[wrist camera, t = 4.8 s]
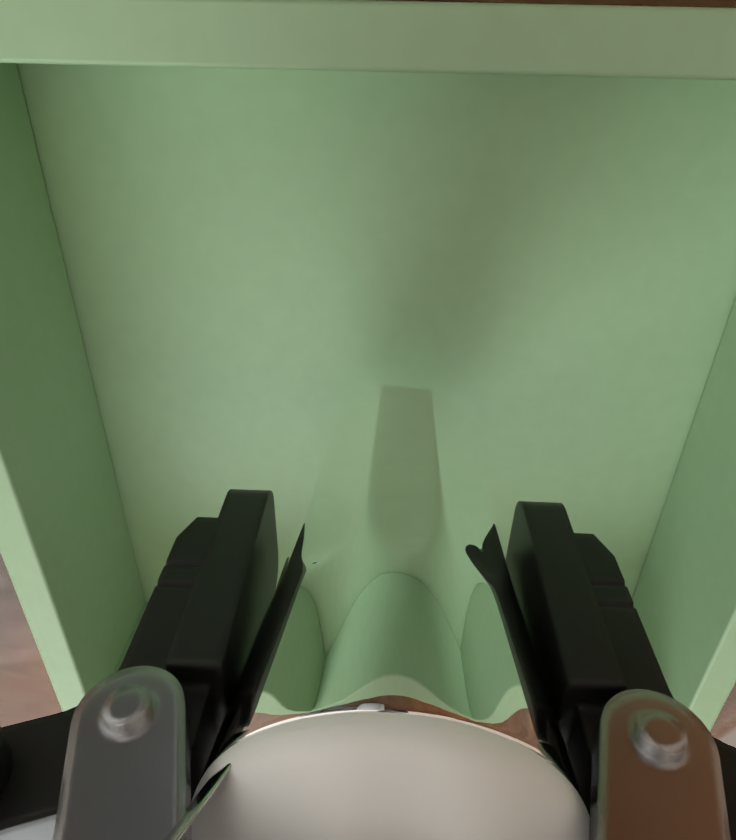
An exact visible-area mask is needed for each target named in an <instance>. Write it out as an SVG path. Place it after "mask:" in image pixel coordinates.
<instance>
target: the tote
mask: <svg viewBox="0 0 736 840" xmlns="http://www.w3.org/2000/svg"><path fill="white" fill-rule="evenodd" d="M381 385H389V386H401V387H414V388H429V389H431V390H432V391H433V392H435V393H436V394H437V395H439V396H440V397H441V398H442V399H444V400H445V401H446V402H448V403H449V404H450V405H452V406H453V407H454V408H455V409H457V410H458V411H459V412H461V413H462V414H463V415H465V417H466V419H467V422H468V426H469V429H470V433H471V437H472V440H473V444H474V448H475V451H476V455H477V459H478V462H479V466H480V470H481V473H482V477H483V481H484V484H485V488H486V492H487V495H488V499H489V503H490V506H491V510H492V514H493V517H494V521H495V525H496V528H497V532H498V535H499V539H500V543H501V546H502V550H503V553H504V557H505V559H506V554H507V549H508V543H509V538H510V533H511V527H512V522H513V517H514V511H515V507H516V504H517V503H518V501H531V502H556V503H562V504H563V505H564V507H565V509H566V512H567V515H568V517H569V520H570V523H571V526H572V529H573V532H574V533H586V534H594V535H595V536H596V537H597V538H598V539H599V540H600V541H601V542H602V543H603V545H604V546H605V547H606V548H607V549H608V550H609V551H610V552H611V553H612V554H613V555H614V556H615V558H616V561H617V563H618V566H619V568H620V571H621V573H622V576H623V578H624V580H625V587H627V588H628V590H629V593H630V595H631V597H632V600H633V602H634V604H633V606H634V608H636V610H637V612H638V615H639V617H640V619H641V622H642V624H643V627H644V629H645V632H646V634H647V636H648V639H649V641H650V644H651V646H652V649H653V651H654V654H655V656H656V658H657V661H658V663H659V666H660V668H661V671H662V673H663V675H664V678H665V680H666V683H667V685H668V688H669V690H670V692H671V694H672V696H673V698H674V699H675V700H677V701H678V702H680V703H681V704H683V705H685V706H686V707H687V708H688V709H690V710H691V711H692V712H693V713H694V714H695V715H696V716H697V717H698V718H699V719H700V720H701V721H702V722H703V723H704V725H705V726H706V727H707V728H708V730H709V732H710V731H711V729H712V727H713V725H714V723H715V721H716V719H717V717H718V715H719V713H720V711H721V709H722V707H723V705H724V704H725V702H726V700H727V698H728V696H729V694H730V692H731V690H732V688H733V686H734V684H735V682H736V8H718V7H670V6H622V5H574V4H526V3H478V2H430V1H382V0H0V552H1V555H2V557H3V560H4V562H5V565H6V568H7V570H8V573H9V575H10V578H11V580H12V583H13V586H14V588H15V591H16V593H17V596H18V598H19V601H20V603H21V606H22V609H23V611H24V614H25V616H26V619H27V621H28V624H29V627H30V629H31V632H32V634H33V637H34V639H35V642H36V644H37V647H38V650H39V652H40V655H41V657H42V660H43V662H44V665H45V668H46V670H47V673H48V675H49V678H50V680H51V683H52V686H53V688H54V691H55V693H56V696H57V698H58V701H59V703H60V706H61V709H62V711H63V712H64V711H67V710H69V709H71V708H73V707H76V706H78V704H79V703H80V701H81V699H82V698H83V697H84V696H85V695H86V693H87V692H88V691H89V690H90V689H91V688H92V687H93V686H94V685H96V684H97V683H98V682H100V681H101V680H102V679H104V678H105V677H107V676H109V675H111V674H113V673H115V672H117V671H118V669H119V667H120V666H121V664H122V662H123V659H124V657H125V655H126V653H127V650H128V648H129V646H130V643H131V641H132V639H133V636H134V634H135V632H136V630H137V627H138V625H139V623H140V620H141V618H142V616H143V613H144V611H145V609H146V606H147V604H148V602H149V600H150V597H151V595H152V593H153V590H154V588H155V586H157V584H158V579H159V577H160V574H161V572H162V570H163V567H164V566H166V560H167V558H168V556H169V553H170V551H171V549H172V547H173V544H174V542H175V540H176V537H177V536H178V535H179V534H180V533H181V532H182V531H183V530H184V529H185V528H186V527H188V526H189V525H190V524H191V523H192V522H193V521H194V520H195V519H196V518H197V517H213V518H218V516H219V514H220V511H221V508H222V505H223V503H224V500H225V497H226V495H227V492H228V491H229V490H230V489H246V490H271V491H272V492H273V496H274V505H275V518H276V530H277V543H278V577H277V584H278V581H279V579H280V576H281V573H282V570H283V567H284V564H285V561H286V558H287V555H288V552H289V549H290V546H291V543H292V541H293V538H294V535H295V532H296V529H297V526H298V523H299V520H300V517H301V514H302V511H303V508H304V505H305V502H306V499H307V496H308V493H309V490H310V487H311V484H312V481H313V479H314V476H315V473H316V470H317V467H318V464H319V461H320V458H321V455H322V452H323V449H324V446H325V444H326V442H327V439H328V437H329V435H330V432H331V430H332V428H333V425H334V423H335V421H336V418H337V416H338V413H339V411H340V409H341V407H342V406H343V405H345V404H347V403H349V402H351V401H353V400H355V399H356V398H358V397H360V396H362V395H364V394H366V393H368V392H370V391H371V390H373V389H375V388H377V387H379V386H381ZM276 587H277V585H276Z"/></svg>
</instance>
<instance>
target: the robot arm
mask: <svg viewBox="0 0 736 840" xmlns="http://www.w3.org/2000/svg"><path fill="white" fill-rule="evenodd" d="M505 560H506V564H507V567H508V571H509V574H510V577H511V581H512V584H513V587H514V590H515V593H516V596H517V599H518V602H519V605H520V608H521V611H522V613H523V616H524V619H525V622H526V625H527V628H528V631H529V634H530V637H531V640H532V643H533V646H534V649H535V652H536V655H537V658H538V661H539V664H540V667H541V670H542V673H543V676H544V680H545V683H546V686H547V689H548V692H549V695H550V698H551V701H552V705H553V708H554V711H555V714H556V717H557V720H558V723H559V726H560V729H561V733H562V736H563V739H564V742H565V745H566V748H567V751H568V755H569V758H570V761H571V764H572V767H573V770H574V773H575V776H576V780H577V783H578V786H579V789H580V792H581V796H582V799H583V802H584V804H585V806H586V808H587V811H588V813H589V816H590V825H589V840H736V748H735V747H732V746H730V745H727V744H725V743H723V742H721V741H720V740H718V739H716V738H714V737H713V736H712V735H711V733H710V732H709V730H708V728H707V727H706V726H705V725H704V723H703V722H702V721H701V720H700V719H699V718H698V717H697V716H696V715H695V714H694V713H693V712H692V711H691V710H690V709H688V708H687V707H686V706H685V705H683V704H681V703H680V702H678V701H677V700H675V699H674V698H673V696H672V694H671V692H670V690H669V688H668V685H667V683H666V680H665V678H664V675H663V673H662V671H661V668H660V666H659V663H658V661H657V658H656V656H655V654H654V651H653V649H652V646H651V644H650V641H649V639H648V636H647V634H646V632H645V629H644V627H643V624H642V622H641V619H640V617H639V615H638V612H637V610H636V608H634V606H633V604H634V602H633V600H632V597H631V595H630V593H629V590H628V588H627V587H625V580H624V578H623V576H622V573H621V571H620V568H619V566H618V563H617V561H616V558H615V556H614V555H613V554H612V553H611V552H610V551H609V550H608V549H607V548H606V547H605V546H604V545H603V543H602V542H601V541H600V540H599V539H598V538H597V537H596V536H595V535H594V534H586V533H574V532H573V529H572V526H571V523H570V520H569V517H568V515H567V512H566V509H565V507H564V505H563V504H562V503H556V502H531V501H518V503H517V504H516V507H515V511H514V517H513V522H512V527H511V533H510V538H509V543H508V549H507V554H506V559H505ZM277 577H278V543H277V530H276V518H275V505H274V496H273V492H272V491H271V490H246V489H230V490H229V491H228V492H227V495H226V497H225V500H224V503H223V505H222V508H221V511H220V514H219V516H218V518H213V517H197V518H196V519H195V520H194V521H193V522H192V523H191V524H190V525H189V526H188V527H186V528H185V529H184V530H183V531H182V532H181V533H180V534H179V535H178V536H177V537H176V540H175V542H174V544H173V547H172V549H171V551H170V553H169V556H168V558H167V560H166V566H164V567H163V570H162V572H161V574H160V577H159V579H158V584H157V586H155V588H154V590H153V593H152V595H151V597H150V600H149V602H148V604H147V606H146V609H145V611H144V613H143V616H142V618H141V620H140V623H139V625H138V627H137V630H136V632H135V634H134V636H133V639H132V641H131V643H130V646H129V648H128V650H127V653H126V655H125V657H124V659H123V662H122V664H121V666H120V667H119V669H118V671H117V672H115V673H113V674H111V675H109V676H107V677H105V678H104V679H102V680H101V681H100V682H98V683H97V684H96V685H94V686H93V687H92V688H91V689H90V690H89V691H88V692H87V693H86V695H85V696H84V697H83V698H82V699H81V701H80V703H79V704H78V706H76V707H73V708H71V709H69V710H67V711H64V712H60V713H57V714H54V715H50V716H46V717H42V718H38V719H34V720H30V721H26V722H22V723H18V724H14V725H10V726H6V727H2V728H1V727H0V840H164V839H165V838H166V836H167V835H168V834H169V833H170V831H171V830H172V829H173V828H174V826H175V825H176V824H177V823H178V822H179V820H180V819H181V818H182V817H183V815H184V814H185V813H186V810H187V807H188V806H189V805H190V803H191V802H192V798H193V796H194V793H195V791H196V788H197V786H198V784H199V782H200V780H201V777H202V774H203V771H204V768H205V766H206V763H207V760H208V758H209V755H210V753H211V750H212V747H213V745H214V742H215V740H216V737H217V734H218V732H219V729H220V727H221V724H222V721H223V719H224V716H225V714H226V711H227V708H228V706H229V703H230V701H231V698H232V696H233V693H234V690H235V688H236V685H237V683H238V680H239V677H240V675H241V672H242V670H243V667H244V665H245V662H246V659H247V657H248V654H249V652H250V649H251V647H252V644H253V642H254V639H255V636H256V634H257V631H258V629H259V626H260V624H261V622H262V619H263V617H264V615H265V612H266V610H267V608H268V606H269V604H270V602H271V600H272V598H273V595H274V593H275V590H276V585H277ZM180 840H192V826H191V825H190V826H189V827H188V829H187V830H186V832H185V833H184V834H183V836H182V837H181V838H180Z"/></svg>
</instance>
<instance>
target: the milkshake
mask: <svg viewBox="0 0 736 840" xmlns="http://www.w3.org/2000/svg"><path fill="white" fill-rule="evenodd" d="M190 825H191V826H192V840H589V825H590V816H589V813H588V811H587V808H586V806H585V804H584V802H583V799H582V796H581V792H580V789H579V786H578V783H577V780H576V776H575V773H574V770H573V767H572V764H571V761H570V758H569V755H568V751H567V748H566V745H565V742H564V739H563V736H562V733H561V729H560V726H559V723H558V720H557V717H556V714H555V711H554V708H553V705H552V701H551V698H550V695H549V692H548V689H547V686H546V683H545V680H544V676H543V673H542V670H541V667H540V664H539V661H538V658H537V655H536V652H535V649H534V646H533V643H532V640H531V637H530V634H529V631H528V628H527V625H526V622H525V619H524V616H523V613H522V611H521V608H520V605H519V602H518V599H517V596H516V593H515V590H514V587H513V584H512V581H511V577H510V574H509V571H508V567H507V564H506V560H505V557H504V553H503V550H502V546H501V543H500V539H499V535H498V532H497V528H496V525H495V521H494V517H493V514H492V510H491V506H490V503H489V499H488V495H487V492H486V488H485V484H484V481H483V477H482V473H481V470H480V466H479V462H478V459H477V455H476V451H475V448H474V444H473V440H472V437H471V433H470V429H469V426H468V422H467V419H466V417H465V415H463V414H462V413H461V412H459V411H458V410H457V409H455V408H454V407H453V406H452V405H450V404H449V403H448V402H446V401H445V400H444V399H442V398H441V397H440V396H439V395H437V394H436V393H435V392H433V391H432V390H431V389H429V388H414V387H401V386H389V385H381V386H379V387H377V388H375V389H373V390H371V391H370V392H368V393H366V394H364V395H362V396H360V397H358V398H356V399H355V400H353V401H351V402H349V403H347V404H345V405H343V406H342V407H341V409H340V411H339V413H338V416H337V418H336V421H335V423H334V425H333V428H332V430H331V432H330V435H329V437H328V439H327V442H326V444H325V446H324V449H323V452H322V455H321V458H320V461H319V464H318V467H317V470H316V473H315V476H314V479H313V481H312V484H311V487H310V490H309V493H308V496H307V499H306V502H305V505H304V508H303V511H302V514H301V517H300V520H299V523H298V526H297V529H296V532H295V535H294V538H293V541H292V543H291V546H290V549H289V552H288V555H287V558H286V561H285V564H284V567H283V570H282V573H281V576H280V579H279V581H278V584H277V587H276V590H275V593H274V595H273V598H272V600H271V602H270V604H269V606H268V608H267V610H266V612H265V615H264V617H263V619H262V622H261V624H260V626H259V629H258V631H257V634H256V636H255V639H254V642H253V644H252V647H251V649H250V652H249V654H248V657H247V659H246V662H245V665H244V667H243V670H242V672H241V675H240V677H239V680H238V683H237V685H236V688H235V690H234V693H233V696H232V698H231V701H230V703H229V706H228V708H227V711H226V714H225V716H224V719H223V721H222V724H221V727H220V729H219V732H218V734H217V737H216V740H215V742H214V745H213V747H212V750H211V753H210V755H209V758H208V760H207V763H206V766H205V768H204V771H203V774H202V777H201V780H200V782H199V784H198V786H197V788H196V791H195V793H194V796H193V798H192V802H191V803H190V805H189V806H188V807H187V810H186V813H185V814H184V815H183V817H182V818H181V819H180V820H179V822H178V823H177V824H176V825H175V826H174V828H173V829H172V830H171V831H170V833H169V834H168V835H167V836H166V838H165V839H164V840H180V838H181V837H182V836H183V834H184V833H185V832H186V830H187V829H188V827H189V826H190Z"/></svg>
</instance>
